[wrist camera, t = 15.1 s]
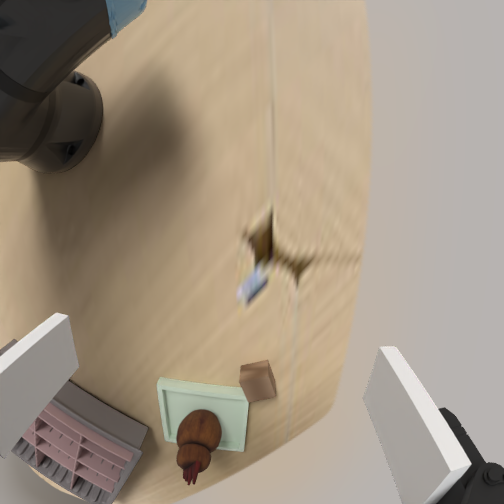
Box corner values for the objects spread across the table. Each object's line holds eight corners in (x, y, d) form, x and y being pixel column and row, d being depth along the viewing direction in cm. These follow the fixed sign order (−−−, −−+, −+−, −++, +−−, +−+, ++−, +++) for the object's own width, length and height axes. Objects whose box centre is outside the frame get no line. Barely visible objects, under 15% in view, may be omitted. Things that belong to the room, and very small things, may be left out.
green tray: (167, 433, 46) (165, 441, 44) (160, 376, 43) (156, 384, 41) (244, 443, 46) (243, 451, 44) (249, 388, 43) (249, 396, 41)
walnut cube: (249, 385, 43) (248, 402, 39) (241, 365, 42) (239, 382, 38) (274, 379, 42) (275, 396, 38) (267, 359, 41) (268, 375, 38)
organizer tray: (17, 429, 52) (1, 450, 42) (16, 330, 43) (-15, 354, 33) (115, 491, 55) (105, 517, 45) (155, 422, 46) (139, 461, 36)
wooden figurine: (210, 399, 43) (193, 473, 28) (230, 421, 44) (220, 494, 29) (176, 410, 44) (153, 479, 29) (197, 431, 45) (180, 499, 30)
